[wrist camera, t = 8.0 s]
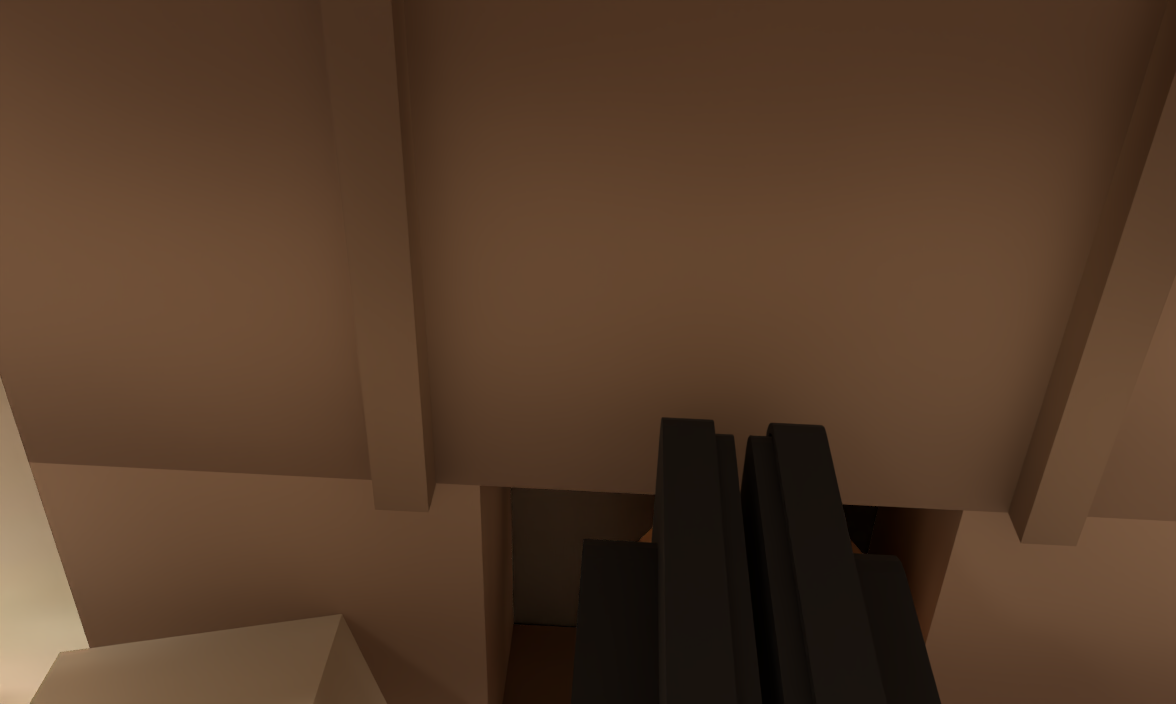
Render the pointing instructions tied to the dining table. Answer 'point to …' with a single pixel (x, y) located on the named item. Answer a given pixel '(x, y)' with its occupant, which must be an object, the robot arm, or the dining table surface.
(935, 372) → the brown wooden divided tray
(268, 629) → the beech cube
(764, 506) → the robot arm
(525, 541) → the dining table surface
